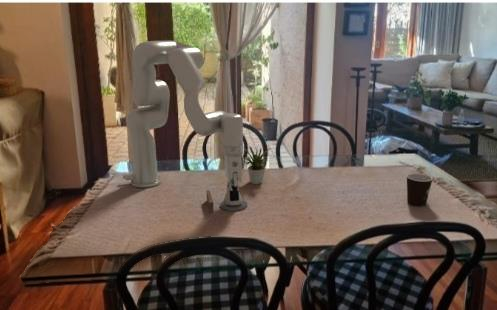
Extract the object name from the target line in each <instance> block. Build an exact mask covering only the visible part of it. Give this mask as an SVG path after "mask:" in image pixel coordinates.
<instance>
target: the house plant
mask: <svg viewBox="0 0 497 310" xmlns="http://www.w3.org/2000/svg"><path fill="white" fill-rule="evenodd" d="M258 147H259V144H258V145H257V147H256V149H255V150H256V151H255V152H254V150H253V148H252V146H251V145H249V146H248V148H249V150H248V149H247V148H246V147H244V146H243V150H244V152H243V154H244V155H245V156H246V157H244V158H243V160H244V162H245V166H248V165H249V166H248V167H247V171H248V176H249V182H250V183H251V184H254V185H260V184H262V183H263V182H264V176H265V175H264V174H265V169H266V168H265V165H266V162H267V161H268V160H269V159H270V157H269V158H267V157H264V156H265V155H266V153H267V152H268V151H269V150H270V149H272V147H271V148H270V147H269V148H267V149H266V150H265V151H264V152H263V153H262V147H260V148H259V150H258ZM249 151H250V152H249ZM245 152H246V153H245ZM250 153H251V154H250ZM263 157H264V158H263Z"/></svg>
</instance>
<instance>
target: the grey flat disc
mask: <svg viewBox="0 0 497 310" xmlns="http://www.w3.org/2000/svg"><path fill="white" fill-rule="evenodd" d="M242 201H243V203H241V204H240V205H227V204H224V200H222V201H221V202H220V204H219V207H220V209H222V210H223V211H227V212H238V211H243V210H245V209H247V207H248V202H247V201H246V200H244V199H242Z"/></svg>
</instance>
